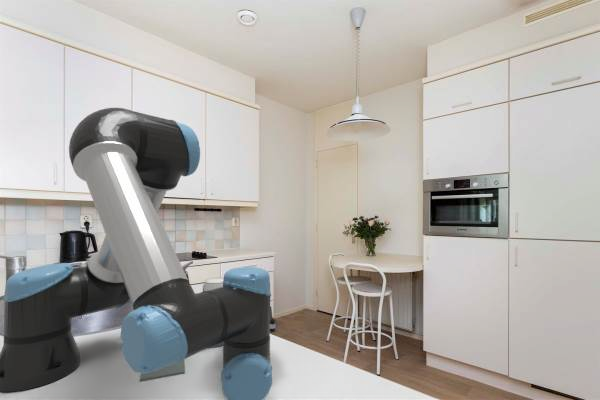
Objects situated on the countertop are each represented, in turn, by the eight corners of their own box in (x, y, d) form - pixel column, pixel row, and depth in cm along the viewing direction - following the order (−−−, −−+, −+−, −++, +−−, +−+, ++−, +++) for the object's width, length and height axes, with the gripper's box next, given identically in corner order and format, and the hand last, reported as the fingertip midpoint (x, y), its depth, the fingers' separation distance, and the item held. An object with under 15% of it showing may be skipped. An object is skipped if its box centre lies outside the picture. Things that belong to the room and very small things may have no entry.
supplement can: (221, 323, 99) (221, 276, 100) (235, 330, 93) (236, 280, 94) (197, 330, 93) (198, 280, 94) (211, 338, 88) (211, 284, 88)
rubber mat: (139, 381, 66) (139, 379, 66) (143, 362, 74) (143, 360, 74) (184, 373, 69) (184, 371, 69) (184, 355, 77) (184, 353, 77)
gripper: (192, 365, 58) (204, 320, 80) (293, 356, 62) (278, 315, 84) (193, 324, 58) (205, 291, 81) (293, 318, 62) (278, 287, 84)
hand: (242, 303), depth 82 cm, fingers closed on beverage can, 6 cm apart
